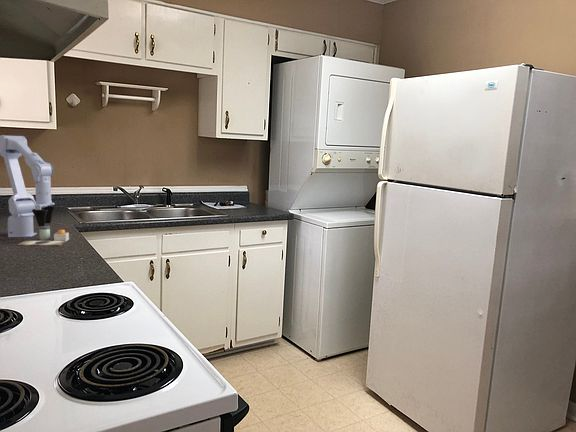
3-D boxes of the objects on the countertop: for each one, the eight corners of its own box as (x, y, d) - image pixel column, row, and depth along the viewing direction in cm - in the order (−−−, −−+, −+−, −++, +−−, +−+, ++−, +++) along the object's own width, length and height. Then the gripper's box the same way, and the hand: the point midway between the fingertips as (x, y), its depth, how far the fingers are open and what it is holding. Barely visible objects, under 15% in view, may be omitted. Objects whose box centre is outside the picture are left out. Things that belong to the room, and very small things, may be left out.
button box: (54, 241, 201) (53, 234, 201) (57, 239, 206) (57, 232, 206) (65, 241, 202) (65, 234, 202) (68, 239, 207) (68, 232, 206)
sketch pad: (17, 245, 192) (17, 244, 191) (25, 241, 199) (24, 240, 199) (60, 245, 194) (60, 244, 194) (66, 241, 202) (65, 240, 202)
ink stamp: (38, 241, 201) (37, 227, 200) (41, 239, 205) (41, 225, 204) (48, 241, 201) (48, 227, 200) (51, 239, 205) (51, 225, 204)
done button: (56, 237, 202) (56, 230, 202) (59, 236, 205) (58, 229, 205) (64, 237, 203) (63, 230, 202) (66, 236, 205) (65, 229, 205)
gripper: (47, 194, 193) (49, 227, 195) (59, 190, 208) (60, 222, 210) (29, 194, 192) (30, 227, 194) (41, 190, 206) (42, 221, 208)
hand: (44, 224), depth 202 cm, fingers open, 7 cm apart
